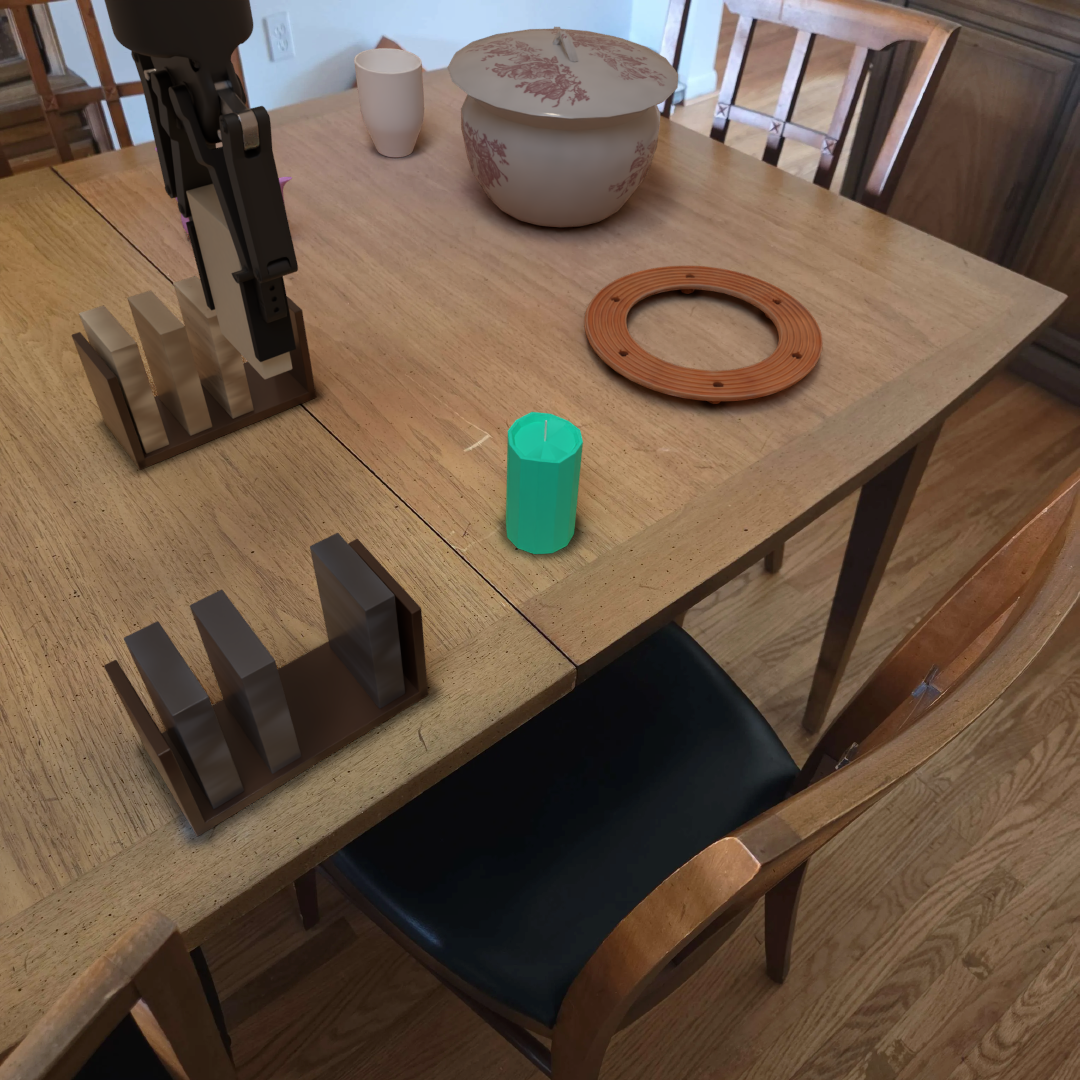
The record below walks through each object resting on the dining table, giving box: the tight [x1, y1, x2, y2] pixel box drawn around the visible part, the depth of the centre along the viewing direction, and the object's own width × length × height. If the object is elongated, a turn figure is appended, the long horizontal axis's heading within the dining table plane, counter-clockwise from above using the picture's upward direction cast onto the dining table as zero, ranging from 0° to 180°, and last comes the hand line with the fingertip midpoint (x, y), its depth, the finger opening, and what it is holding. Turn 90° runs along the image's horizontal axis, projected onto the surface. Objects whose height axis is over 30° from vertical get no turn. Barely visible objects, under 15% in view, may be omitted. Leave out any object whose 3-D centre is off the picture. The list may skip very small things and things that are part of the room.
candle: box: [505, 411, 584, 555], centre depth 76 cm, size 6×6×12 cm
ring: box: [583, 265, 824, 405], centre depth 100 cm, size 25×25×2 cm
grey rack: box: [103, 532, 429, 837], centre depth 62 cm, size 18×8×12 cm, turn 129°
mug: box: [353, 47, 425, 158], centre depth 128 cm, size 12×9×12 cm
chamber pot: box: [447, 26, 679, 228], centre depth 115 cm, size 28×28×21 cm
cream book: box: [186, 184, 292, 379], centre depth 63 cm, size 2×7×11 cm, turn 38°
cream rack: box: [71, 275, 317, 471], centre depth 85 cm, size 18×8×12 cm, turn 129°
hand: (250, 326), depth 66 cm, fingers closed on cream book, 7 cm apart
